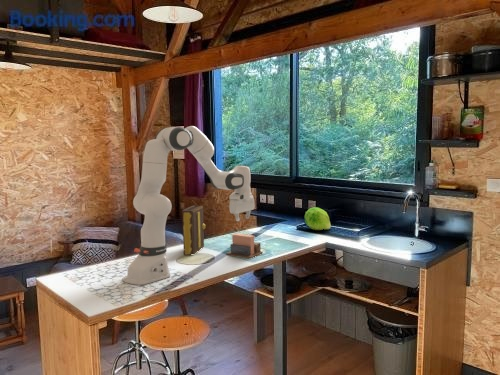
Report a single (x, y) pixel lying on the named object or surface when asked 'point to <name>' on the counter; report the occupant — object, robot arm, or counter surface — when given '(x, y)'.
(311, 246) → the counter surface
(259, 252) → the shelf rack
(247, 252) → the bookend
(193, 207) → the book
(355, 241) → the counter surface
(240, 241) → the boxed book
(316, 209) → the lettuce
